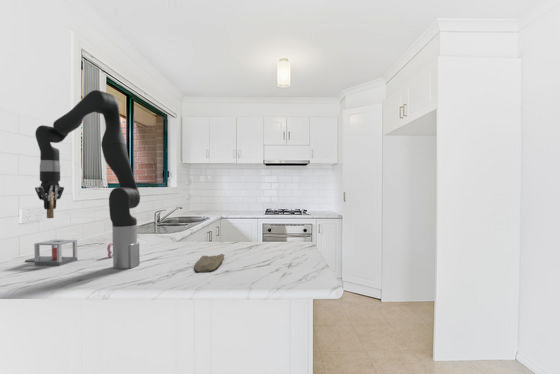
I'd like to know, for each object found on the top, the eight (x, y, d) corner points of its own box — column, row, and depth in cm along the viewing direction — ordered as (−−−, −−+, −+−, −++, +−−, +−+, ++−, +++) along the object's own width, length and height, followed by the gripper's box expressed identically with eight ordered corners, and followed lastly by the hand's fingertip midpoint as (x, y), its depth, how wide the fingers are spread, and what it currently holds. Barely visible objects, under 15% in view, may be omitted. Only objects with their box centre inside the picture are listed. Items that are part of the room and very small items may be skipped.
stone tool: (201, 258, 148) (190, 274, 123) (201, 252, 148) (190, 266, 123) (225, 258, 148) (219, 273, 123) (225, 252, 148) (218, 265, 123)
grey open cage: (77, 260, 147) (76, 239, 147) (59, 265, 137) (59, 243, 137) (54, 259, 149) (53, 239, 149) (34, 265, 139) (34, 243, 139)
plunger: (62, 261, 144) (62, 247, 144) (56, 263, 141) (56, 248, 141) (56, 261, 145) (56, 247, 145) (50, 263, 142) (50, 248, 142)
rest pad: (55, 258, 152) (55, 256, 152) (40, 262, 144) (40, 260, 144) (40, 257, 153) (40, 256, 153) (25, 261, 145) (25, 260, 145)
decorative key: (132, 255, 169) (108, 258, 149) (130, 255, 169) (106, 258, 149) (133, 242, 170) (110, 243, 150) (131, 242, 170) (107, 243, 151)
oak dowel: (54, 217, 146) (54, 191, 145) (50, 218, 143) (50, 191, 143) (50, 217, 146) (49, 191, 146) (45, 218, 143) (45, 191, 143)
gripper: (44, 170, 137) (44, 210, 137) (69, 171, 151) (69, 208, 151) (28, 170, 138) (28, 210, 138) (55, 171, 152) (55, 207, 152)
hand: (50, 208), depth 144 cm, fingers closed on oak dowel, 2 cm apart
